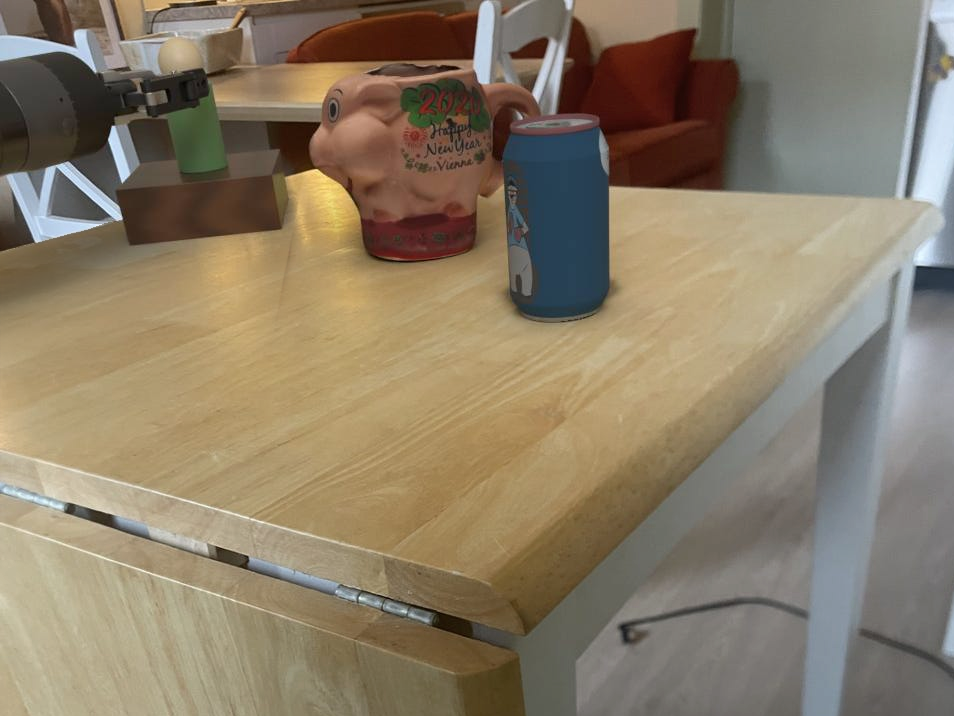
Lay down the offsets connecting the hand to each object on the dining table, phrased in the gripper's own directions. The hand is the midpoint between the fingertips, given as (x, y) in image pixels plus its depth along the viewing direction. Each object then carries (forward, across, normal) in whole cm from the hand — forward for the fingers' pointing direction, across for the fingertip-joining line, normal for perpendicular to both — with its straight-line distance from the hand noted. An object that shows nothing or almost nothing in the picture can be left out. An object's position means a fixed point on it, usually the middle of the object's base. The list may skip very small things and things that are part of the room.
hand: (165, 83), depth 90 cm
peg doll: (+2, 0, +8) cm, 8 cm away
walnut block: (+2, 0, +14) cm, 14 cm away
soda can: (-15, -42, +14) cm, 47 cm away
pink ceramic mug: (+1, -25, +14) cm, 29 cm away
